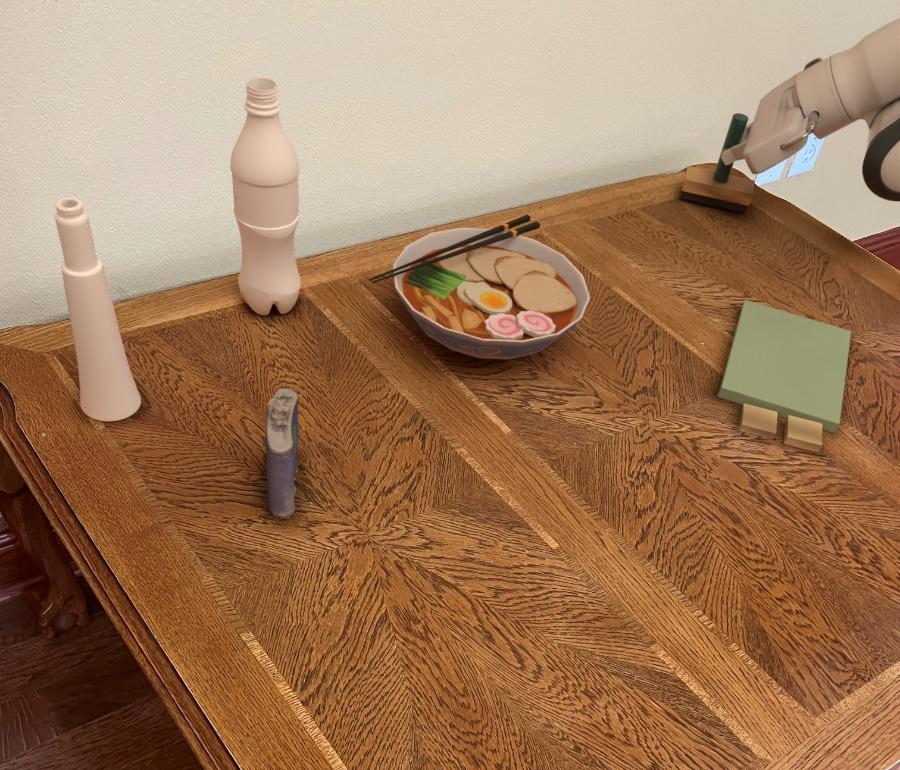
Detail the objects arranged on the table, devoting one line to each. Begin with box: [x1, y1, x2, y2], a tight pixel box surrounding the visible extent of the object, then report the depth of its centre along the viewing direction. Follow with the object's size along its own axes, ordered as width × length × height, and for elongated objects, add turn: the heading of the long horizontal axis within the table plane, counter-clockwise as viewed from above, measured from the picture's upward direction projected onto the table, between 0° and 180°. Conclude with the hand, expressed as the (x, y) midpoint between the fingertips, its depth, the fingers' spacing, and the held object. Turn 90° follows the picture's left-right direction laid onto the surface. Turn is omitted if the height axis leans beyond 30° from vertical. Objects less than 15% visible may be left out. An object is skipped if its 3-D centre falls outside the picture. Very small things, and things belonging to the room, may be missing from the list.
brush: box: [679, 112, 755, 214], centre depth 135 cm, size 10×4×12 cm, turn 75°
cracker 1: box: [738, 403, 778, 441], centre depth 108 cm, size 4×4×1 cm
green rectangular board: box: [717, 299, 852, 434], centre depth 115 cm, size 20×14×2 cm
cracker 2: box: [783, 415, 823, 454], centre depth 107 cm, size 4×4×1 cm
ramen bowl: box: [369, 214, 591, 360], centre depth 110 cm, size 25×23×8 cm
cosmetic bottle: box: [54, 196, 142, 422], centre depth 89 cm, size 6×6×22 cm
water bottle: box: [229, 76, 302, 316], centre depth 102 cm, size 7×7×25 cm
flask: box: [264, 387, 300, 520], centre depth 89 cm, size 9×3×11 cm, turn 2°
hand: (725, 153), depth 135 cm, fingers closed on brush, 2 cm apart
